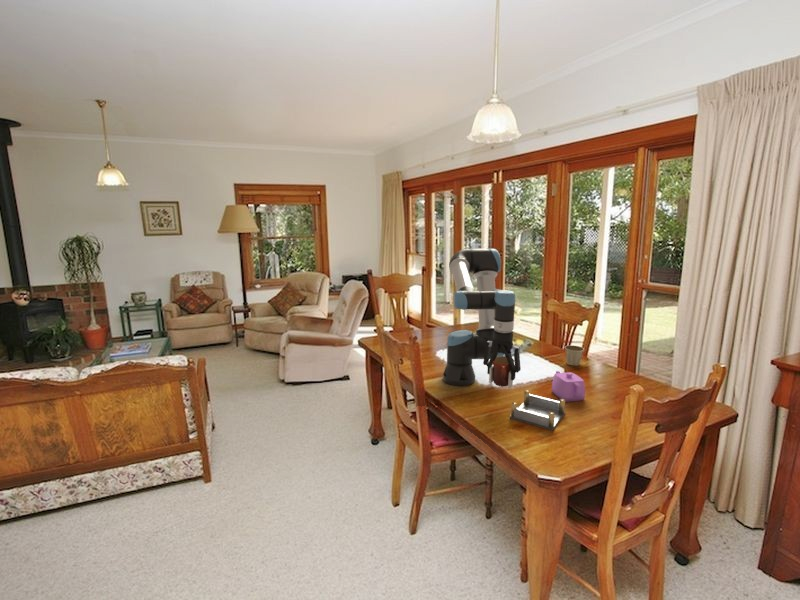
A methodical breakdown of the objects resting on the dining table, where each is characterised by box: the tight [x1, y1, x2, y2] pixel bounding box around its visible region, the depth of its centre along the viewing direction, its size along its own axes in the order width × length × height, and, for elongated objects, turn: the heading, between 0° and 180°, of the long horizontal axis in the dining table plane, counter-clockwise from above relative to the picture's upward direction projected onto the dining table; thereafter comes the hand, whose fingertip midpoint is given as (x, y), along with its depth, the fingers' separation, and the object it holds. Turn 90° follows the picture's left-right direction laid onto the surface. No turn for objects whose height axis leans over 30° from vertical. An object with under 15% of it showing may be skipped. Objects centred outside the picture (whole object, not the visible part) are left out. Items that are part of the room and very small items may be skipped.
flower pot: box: [564, 344, 585, 367], centre depth 213 cm, size 9×9×9 cm
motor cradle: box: [509, 389, 566, 431], centre depth 158 cm, size 16×16×6 cm
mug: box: [492, 355, 515, 388], centre depth 164 cm, size 12×9×10 cm
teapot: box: [551, 370, 586, 402], centre depth 176 cm, size 18×10×10 cm, turn 8°
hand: (500, 384), depth 166 cm, fingers closed on mug, 7 cm apart
